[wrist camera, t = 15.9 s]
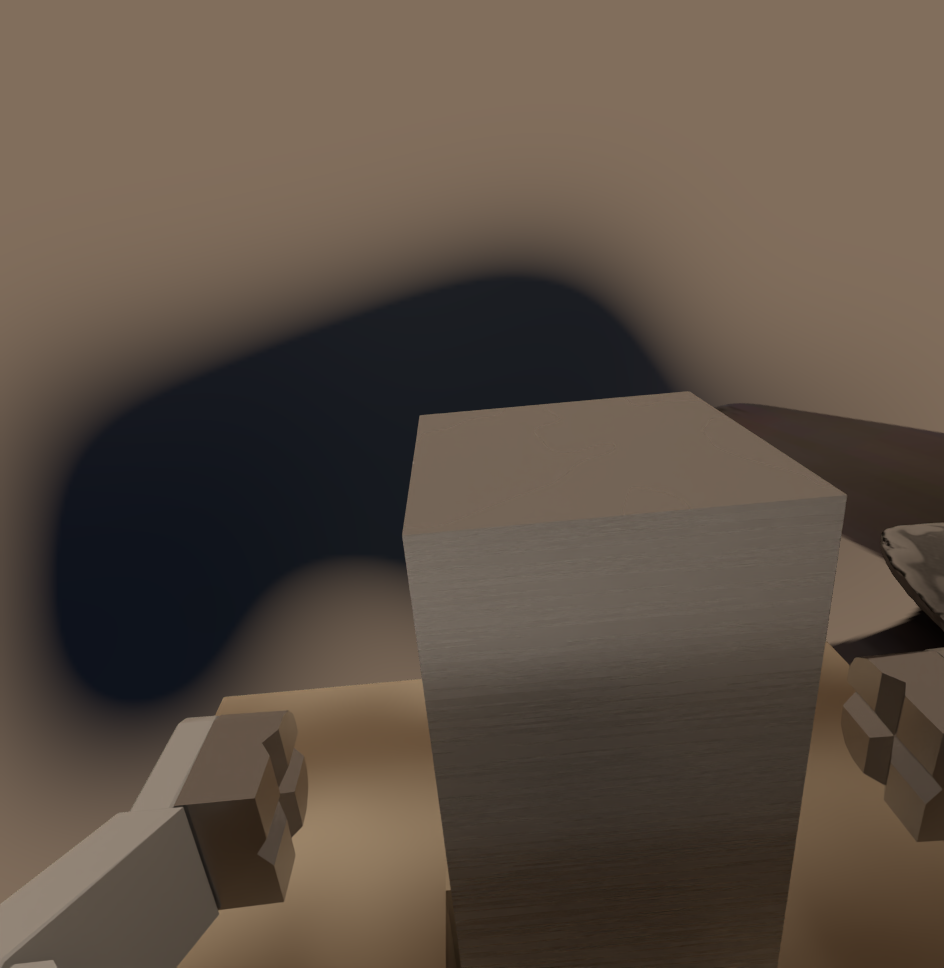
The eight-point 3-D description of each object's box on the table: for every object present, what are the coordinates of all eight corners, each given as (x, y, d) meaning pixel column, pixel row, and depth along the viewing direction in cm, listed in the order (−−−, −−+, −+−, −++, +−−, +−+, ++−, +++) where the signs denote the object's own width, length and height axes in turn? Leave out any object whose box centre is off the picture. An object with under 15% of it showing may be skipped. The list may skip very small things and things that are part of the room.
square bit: (493, 1046, 14) (419, 415, 8) (660, 1029, 14) (688, 391, 8) (508, 1310, 10) (402, 536, 5) (729, 1289, 10) (848, 495, 5)
